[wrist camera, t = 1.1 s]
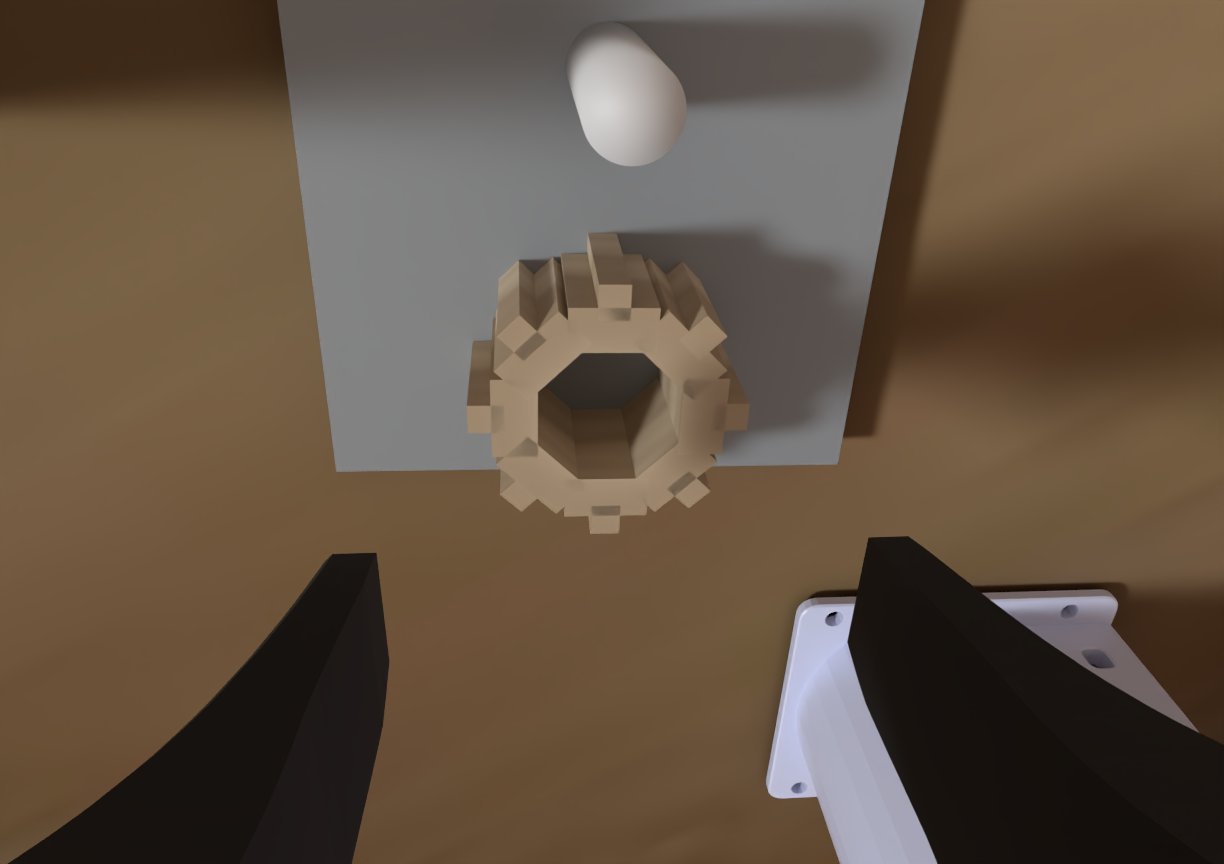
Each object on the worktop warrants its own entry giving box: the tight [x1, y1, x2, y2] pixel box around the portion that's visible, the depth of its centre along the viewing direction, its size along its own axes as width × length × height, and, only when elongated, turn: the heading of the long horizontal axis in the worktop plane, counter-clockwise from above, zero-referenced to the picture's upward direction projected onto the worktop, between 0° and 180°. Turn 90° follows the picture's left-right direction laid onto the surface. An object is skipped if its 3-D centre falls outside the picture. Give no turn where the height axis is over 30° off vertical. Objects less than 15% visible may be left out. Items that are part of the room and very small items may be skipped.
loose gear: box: [467, 233, 750, 534], centre depth 19 cm, size 6×6×3 cm
